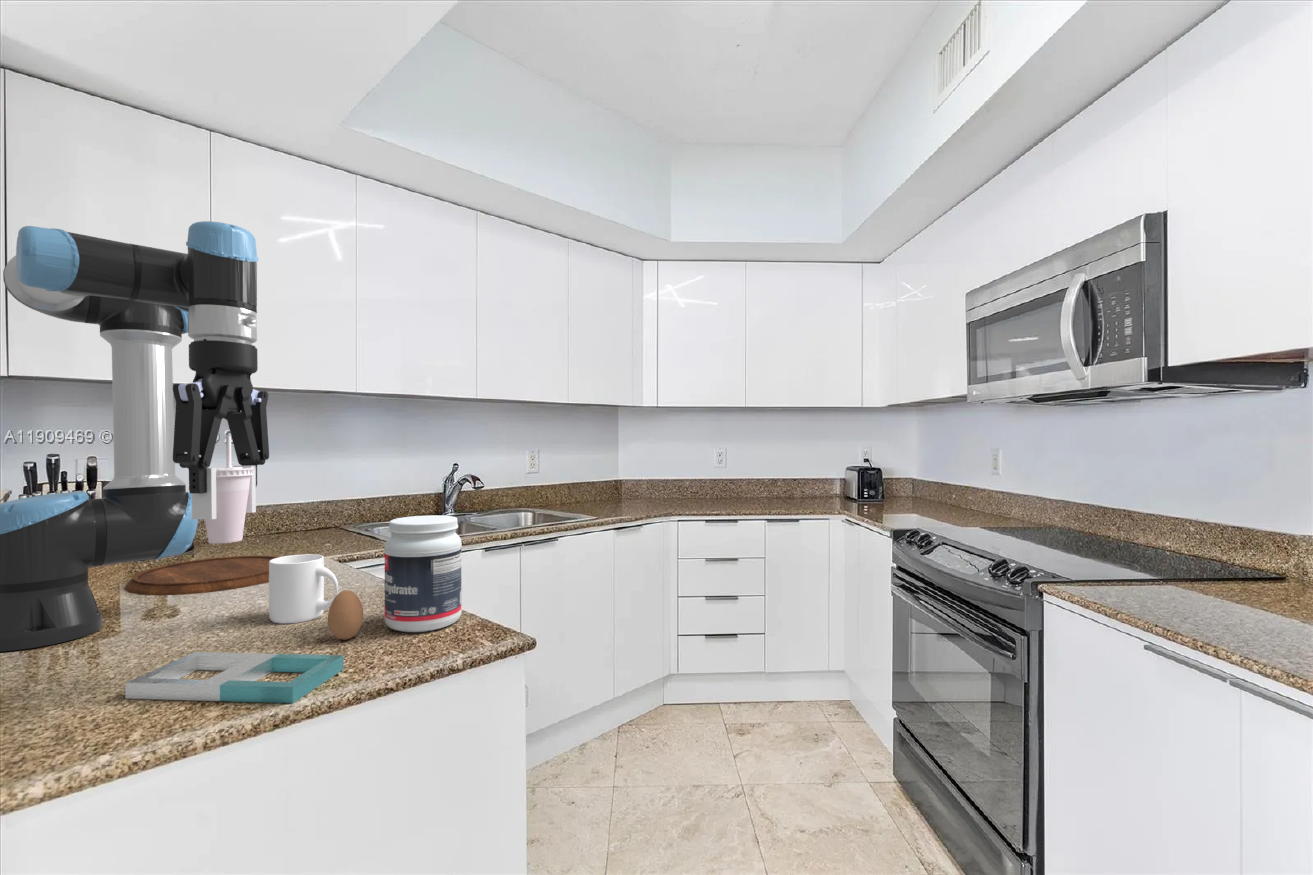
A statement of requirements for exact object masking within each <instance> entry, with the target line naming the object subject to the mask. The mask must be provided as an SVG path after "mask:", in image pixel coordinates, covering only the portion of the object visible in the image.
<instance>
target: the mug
mask: <svg viewBox="0 0 1313 875" xmlns="http://www.w3.org/2000/svg"><path fill="white" fill-rule="evenodd" d="M278 557H279V558H275V559H272V560H270V561H269V582H268V590H269V591H268V611H269V612H268V614H269V616H268V617H269V619H270V621H271V622H272V623H275V624H283V625H287V624H288V625H289V624H297V623H298V624H299V623H303V622H309V621H312V620H315V619H318V618H319V617H320V616H322V614H323V613H324V611H325V610H327V609H330V606H331V604H332V602H333V600H334V598H335V597H336V596H337V595H338V594H339V583H338V582H339V581H338V579H337V577H336V575H335V573H333V571H331V570H330V569H329V568H327V567H325V566H324V565H325V564H324V563H325V562H324V560H325V558H324V557H325V556H323V555H321V554H314V553H313V554H312V553H311V554H303V553H302V554H294V555H293V554H292V555H285V556H278ZM325 578H328V579H329V580H331V581H332V583H333V584H334V587H335V593H334V596H333V597H332V598H331V599H330V600H325V598H324V597H325V581H324V580H325Z"/></svg>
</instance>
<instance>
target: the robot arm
mask: <svg viewBox="0 0 1313 875" xmlns="http://www.w3.org/2000/svg"><path fill="white" fill-rule="evenodd" d="M185 245H186V247H187V253H185V252H179V251H174V250H173V251H172V250H168V249H163V248H158V247H157V248H156V247H153V246H152V247H151V246H145V245H140V244H134V243H128V242H122V241H118V240H111V239H105V238H102V237H97V236H91V235H85V234H81V233H80V234H79V233H75V232H70V231H66V230H64V229H60V228H49V227H47V228H46V227H40V226H33V225H25V226H23V227H20V229H19V230H18V233H17V239H16V247H15V251H16V252H15V255H14V256H13V257H12V258H10V260H9V261H8V262H7V264H6V265H5V266H4V268H3V271H2V272H3V273H2V275H3V276H2V277H3V279H2V280H3V283H4V287H5V288H6V290H7V291H8V293H9V294H10V295H11V297H13V298H14V299H15V300H16V301H17V302H19V303H20V304H22V305H23V306H25V307H27V308H29V309H31V310H33V311H36V312H39V313H42V314H44V315H47V316H49V317H53V318H56V319H59V320H65V321H69V322H75V323H81V324H82V323H83V324H91V325H98V326H99V336H100V338H103V340H105V341H106V342H107V343H108V344H110V347H111V370H112V371H111V375H112V376H111V377H112V379H111V380H112V381H111V382H112V383H111V384H112V386H111V387H112V424H113V425H112V426H113V427H112V429H113V432H112V433H113V435H112V436H113V472H114V475H113V476H114V477H113V479H111V481H109V482H108V483H107V484H106V485H104V486H103V488H102V495H103V497H100V498H90V496H89V494H88V492H86V491H83V490H81V491H80V490H79V491H78V490H75V491H67V492H56V493H48V494H41V495H35V496H29V497H24V498H17V499H13V500H8V501H4V502H1V503H0V652H10V651H20V650H29V649H36V648H41V647H46V646H52V645H56V644H60V643H65V642H69V641H72V640H76V639H79V638H83V637H86V636H88V635H92V634H93V633H95V632H97V631H99V630H101V629H102V628H103V613H102V611H101V610H100V609H99V607H98V604H97V601H96V599H95V596H94V594H93V591H92V590H91V587H90V584H89V568H90V567H98V566H107V565H115V564H121V563H122V564H123V563H131V562H140V561H147V560H160V559H163V558H169V557H174V556H180V555H182V554H184V553H185V552H187V550H188V549H190V547H191V546H192V543H193V542H194V540H195V536H196V533H197V528H198V524H199V520H205V519H216V468H217V467H210V466H211V463H212V459H213V455H214V450H215V447H216V444H217V438H218V435H219V431H220V427H221V424H222V420H223V419H224V420H226V422H227V424H228V428H229V433H230V436H231V441H232V443H233V447H234V451H235V455H236V458H237V462H238V464H239V465H233V466H232V467H242V468H253V475H251V478H250V486H249V493H248V500H247V508H246V514H248V513H249V514H250V513H252V514H254V513H257V486H258V466H262V465H263V466H264V464H265V463H266V460H268V459H269V458H270V446H269V433H268V428H269V427H268V414H267V405H268V399H269V392H267V391H265V390H263V391H262V390H260V391H259V390H257V389H254V386H253V383H252V378H251V375H252V374H256V373H257V372H258V364H259V363H258V348H257V347H256V346H255V345H253V344H254V343H256V342H258V341H257V340H258V333H257V331H258V330H257V329H258V328H257V327H258V326H257V313H258V311H257V308H258V305H257V304H258V303H257V302H258V298H257V296H258V294H257V293H258V285H257V284H258V281H257V280H258V278H257V277H258V273H257V272H258V271H257V270H258V261H259V257H258V253H257V243H256V239H255V236H254V235H253V234H252V233H251V232H250V230H247V229H245V228H244V227H241V226H238V225H234V224H230V223H225V222H219V221H207V220H206V221H197V222H194V223H192V224H191V225H190V226H189V227H188V232H187V240H186V242H185ZM184 334H188V335H187V336H188V337H189V338H190V339H192V340H193V341H191V342H190V343H189V344H188V367H189V369H190V370H191V371H194V372H195V374H194V375H195V376H194V377H193V380H192V382H189V383H174V380H173V379H174V376H173V371H174V370H173V349H174V348H175V347H176V346H177V345H178V344H180V343H181V342H182V341H183V340H182V338H183V336H182V335H184ZM174 401H175V412H174ZM174 413H175V414H174ZM176 464H179V466H180V468H181V469H188V491H187V490H186V486H187V485H186V482H184V481H183V480H181V479H180V478H179V477H178V476H177V475H176Z"/></svg>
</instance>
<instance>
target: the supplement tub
mask: <svg viewBox="0 0 1313 875" xmlns="http://www.w3.org/2000/svg"><path fill="white" fill-rule="evenodd" d="M388 526H389V528H388V532H389V533H390V535H391V536H390V537H389V538H388V539H387V540H386V542H385V544H384V548H383V550H384V622H385V624H386V626H387V627H388V628H390V629H392V630H394V631H398V632H402V633H403V632H404V633H423V632H424V633H425V632H430V631H436V630H441V629H442V628H445V627H448V626H451V625H452V624H454V623H456V622H457V621H458V620H459V619H460V618H461V615H462V612H463V610H462V545H463V544H462V539H461V537H460V536H459V535H458V534H457V533H456V530H457V529H458V528H459V524H458V517H456V516H453V515H443V514H442V515H433V514H432V515H414V516H405V517H398V518H394V519H391V520H389V525H388Z"/></svg>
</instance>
